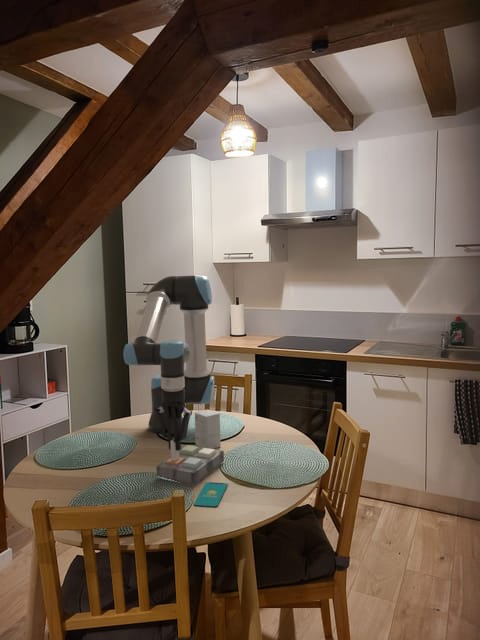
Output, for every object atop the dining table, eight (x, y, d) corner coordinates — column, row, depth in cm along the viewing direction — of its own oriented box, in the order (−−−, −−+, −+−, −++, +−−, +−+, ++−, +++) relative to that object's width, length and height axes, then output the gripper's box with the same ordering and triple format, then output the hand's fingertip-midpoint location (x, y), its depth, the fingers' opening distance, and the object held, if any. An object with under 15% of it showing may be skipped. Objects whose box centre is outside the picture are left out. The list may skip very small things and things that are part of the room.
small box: (221, 446, 183) (220, 413, 181) (207, 451, 179) (206, 416, 177) (208, 441, 189) (207, 408, 188) (195, 445, 185) (194, 412, 184)
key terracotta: (166, 470, 158) (165, 461, 157) (173, 465, 161) (173, 456, 161) (177, 472, 156) (177, 463, 155) (184, 467, 160) (184, 458, 159)
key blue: (183, 471, 155) (183, 462, 154) (190, 466, 159) (190, 457, 158) (195, 473, 153) (194, 464, 152) (202, 468, 157) (201, 459, 156)
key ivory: (197, 460, 163) (197, 452, 163) (204, 456, 167) (204, 447, 167) (209, 462, 161) (209, 454, 161) (215, 458, 165) (215, 449, 165)
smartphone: (192, 504, 137) (205, 481, 152) (192, 507, 137) (205, 484, 152) (217, 506, 136) (228, 483, 150) (217, 509, 136) (228, 485, 150)
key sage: (181, 457, 166) (181, 449, 165) (188, 453, 170) (187, 445, 169) (192, 459, 164) (192, 451, 164) (198, 455, 168) (198, 446, 167)
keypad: (156, 478, 155) (156, 466, 155) (189, 456, 173) (189, 445, 173) (194, 486, 150) (194, 473, 149) (223, 462, 167) (223, 450, 167)
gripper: (149, 389, 155) (152, 460, 158) (184, 393, 150) (186, 466, 152) (162, 384, 162) (165, 452, 164) (196, 387, 156) (198, 458, 159)
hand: (175, 459), depth 158 cm, fingers closed
